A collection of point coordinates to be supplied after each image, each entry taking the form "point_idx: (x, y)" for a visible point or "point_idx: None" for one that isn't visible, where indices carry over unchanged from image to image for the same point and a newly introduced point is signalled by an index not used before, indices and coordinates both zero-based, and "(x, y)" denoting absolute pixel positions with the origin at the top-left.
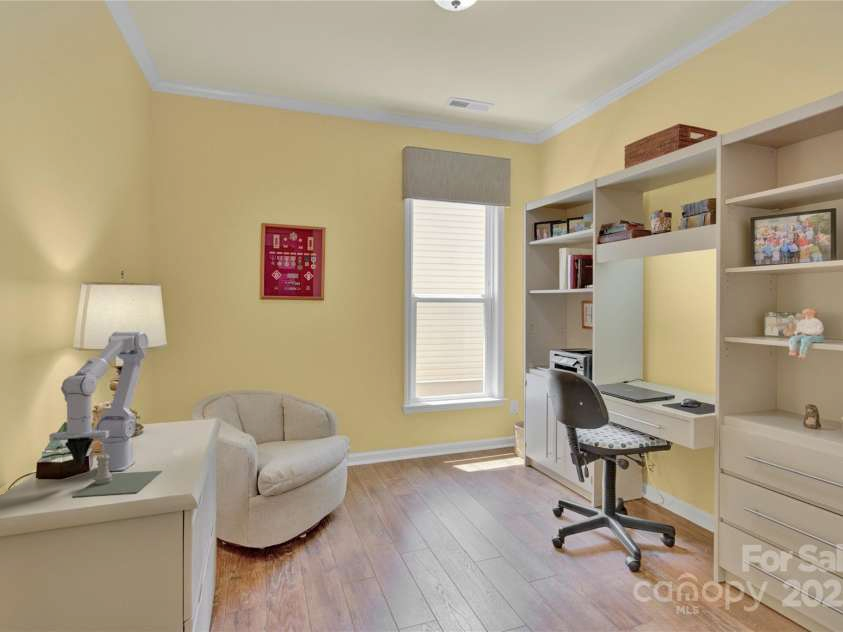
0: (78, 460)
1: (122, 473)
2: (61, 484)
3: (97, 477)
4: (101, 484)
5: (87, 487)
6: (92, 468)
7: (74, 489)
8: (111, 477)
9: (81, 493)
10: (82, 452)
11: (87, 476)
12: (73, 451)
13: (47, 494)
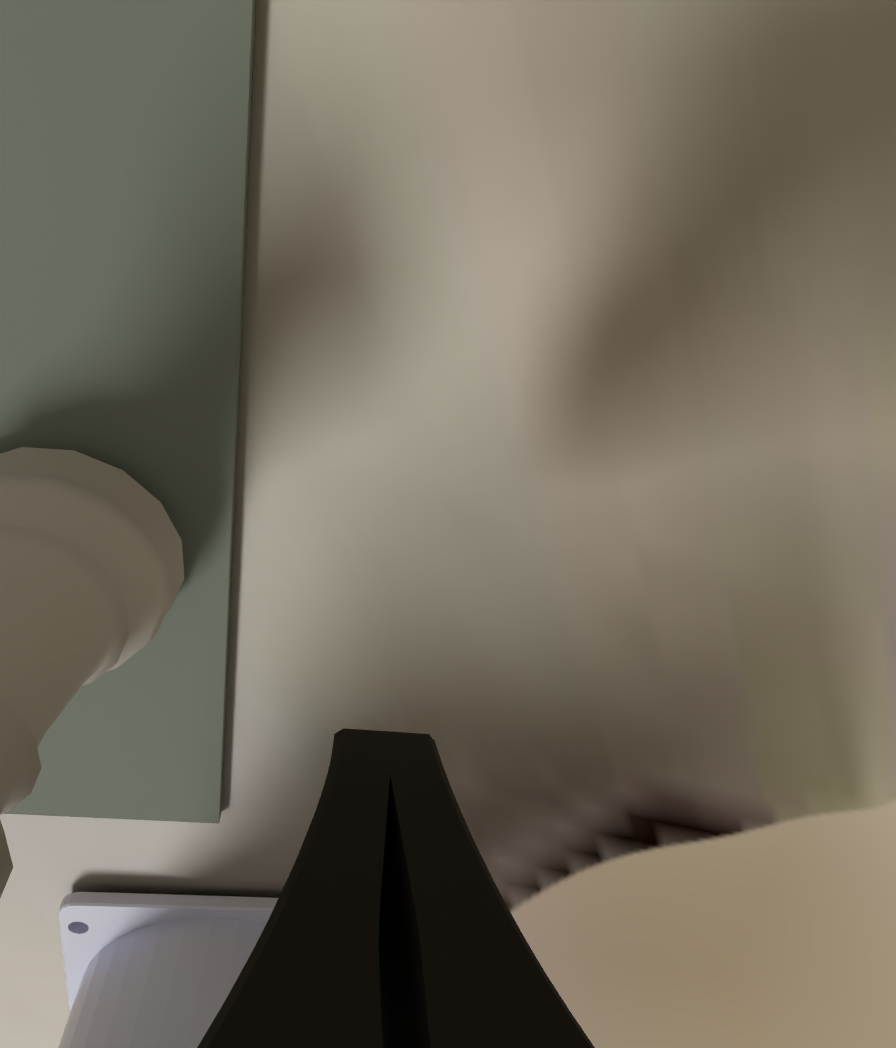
0: (366, 800)
1: None
2: (606, 643)
3: (69, 525)
4: (39, 451)
5: (201, 386)
6: None
7: (384, 405)
8: None
9: (154, 79)
10: (236, 987)
11: None
12: (487, 1028)
13: (687, 303)
